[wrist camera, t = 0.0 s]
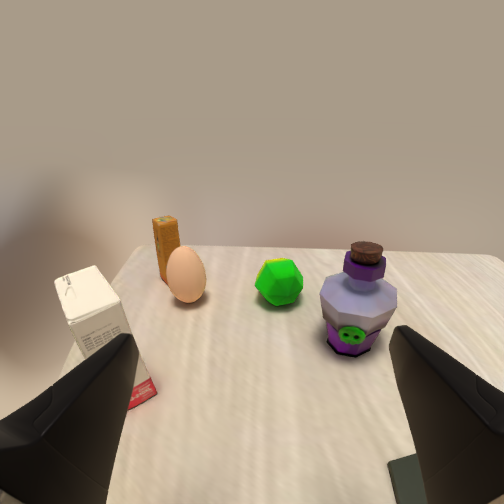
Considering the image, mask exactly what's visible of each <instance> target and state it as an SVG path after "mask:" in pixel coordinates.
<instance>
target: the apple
mask: <svg viewBox="0 0 504 504" xmlns="http://www.w3.org/2000/svg"><path fill="white" fill-rule="evenodd" d="M255 287H256V288H257V289H258V290H259V292H260V293H261V294H262V295H263V297H264V298H265V299H266V300H267V301H268V302H270V303H271V304H273V305H275V306H279V305H284V304H289V303H294V301H295V300H296V298H297V297H298V295H299V294H300V292H301V290H302V289H303V276H302V275H301V273H300V272H299V270H298V268H297V267H296V265H295V264H294V262H293V261H292V260H289V259H285V258H279V259H272V260H266V261H265V262H264V264H263V266H262V268H261V269H260V271H259V273H258V275H257V278H256V282H255Z"/></svg>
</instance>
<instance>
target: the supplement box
mask: <svg viewBox="0 0 504 504" xmlns="http://www.w3.org/2000/svg"><path fill="white" fill-rule="evenodd" d="M152 220H153V221H152V222H153V230H154V238H155V245H156V251H157V258H158V264H159V270H160V275H161V278H162V279H163V280H164V281H165V282H166V283H167V284H168V282H167V275H166V270H167V264H168V260H169V257H170V255H171V254H172V252H173V251H174V250H175V249H176V248H178V247H180V239H179V233H178V223H177V219H175V218H173V217H171V216H164V217H159V218H155V219H152Z"/></svg>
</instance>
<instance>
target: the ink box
mask: <svg viewBox="0 0 504 504" xmlns="http://www.w3.org/2000/svg"><path fill="white" fill-rule="evenodd" d="M54 283H55V287H56V290H57V293H58V296H59V299H60V302H61V305H62V308H63V311H64V314H65V316H66V319H67V322H68V325H69V327H70V330H71V332H72V334H73V336H74V338H75V340H76V342H77V344H78V346H79V348H80V350H81V352H82V354H83V356H84V358H85V360H86V359H87V358H88V357H89V356H91V355H92V354H93V353H95V352H96V351H97V350H99V349H100V348H101V347H103V346H104V345H105V344H107V343H108V342H109V341H111V340H112V339H113V338H115V337H116V336H117V335H118V334H120V333H130V334H132V332H131V329H130V326H129V324H128V321H127V318H126V315H125V312H124V309H123V306H122V303H121V300H120V298H119V297H118V295H117V294H116V293H115V291H114V290H113V289H112V287H111V286H110V285H109V283H108V282H107V281H106V279H105V278H104V277H103V275H102V274H101V273H100V271H99V270H98V268H97V267H96V265H94V266H91V267H88V268H85V269H82V270H79V271H76V272H73V273H71V274H68V275H65V276H63V277H60V278H58V279H56V280H55V281H54ZM155 394H157V391H156V389H155V387H154V384H153V382H152V380H151V378H150V376H149V373H148V371H147V369H146V366H145V364H144V362H143V359H142V357H141V355H140V352H139V359H138V364H137V370H136V375H135V381H134V387H133V392H132V396H131V400H130V403H129V407H128V410H129V409H131V408H133V407H135V406H137V405H138V404H140V403H142V402H144V401H145V400H147V399H149V398H150V397H152V396H153V395H155Z"/></svg>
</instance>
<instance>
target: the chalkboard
mask: <svg viewBox="0 0 504 504" xmlns="http://www.w3.org/2000/svg"><path fill="white" fill-rule="evenodd" d="M388 467H389V471H390V475H391V479H392V484H393V488H394V492H395V497H396V501H397V504H427V500H426V494H425V489H424V484H423V483H424V482H423V479H422V474H421V470H420V465H419V461H418V457H417V453H416V454H413V455H409V456H406V457H403V458H399V459H396V460H392V461H389V462H388Z"/></svg>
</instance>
